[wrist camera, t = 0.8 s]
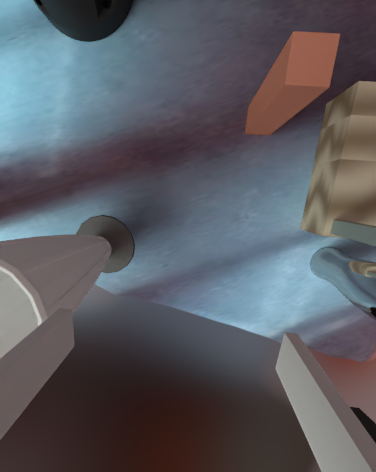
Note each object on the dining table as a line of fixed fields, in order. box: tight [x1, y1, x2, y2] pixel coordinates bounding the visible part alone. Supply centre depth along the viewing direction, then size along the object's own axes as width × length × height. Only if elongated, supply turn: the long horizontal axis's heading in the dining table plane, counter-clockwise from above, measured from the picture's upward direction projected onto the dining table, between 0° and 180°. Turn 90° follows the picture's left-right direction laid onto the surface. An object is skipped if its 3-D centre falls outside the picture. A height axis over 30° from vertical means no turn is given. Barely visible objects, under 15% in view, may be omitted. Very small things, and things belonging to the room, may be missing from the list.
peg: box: [245, 31, 340, 135], centre depth 23 cm, size 4×4×14 cm
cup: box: [0, 215, 134, 359], centre depth 25 cm, size 12×12×22 cm
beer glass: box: [310, 247, 376, 320], centre depth 27 cm, size 7×7×15 cm
